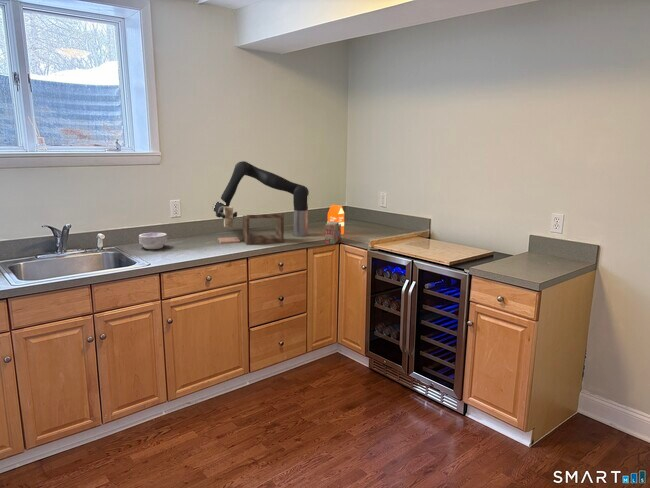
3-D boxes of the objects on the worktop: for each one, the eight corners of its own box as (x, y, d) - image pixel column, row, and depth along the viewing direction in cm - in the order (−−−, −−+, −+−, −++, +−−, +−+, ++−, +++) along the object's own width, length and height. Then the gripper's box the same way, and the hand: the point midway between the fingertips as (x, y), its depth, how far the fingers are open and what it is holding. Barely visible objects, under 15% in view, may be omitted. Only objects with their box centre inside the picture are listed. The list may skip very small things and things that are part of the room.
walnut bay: (278, 238, 314) (278, 211, 310) (283, 242, 303) (283, 214, 299) (243, 240, 305) (242, 212, 302) (247, 244, 295) (246, 215, 291)
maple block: (231, 225, 306) (231, 206, 303) (233, 226, 301) (233, 207, 298) (223, 225, 304) (223, 206, 301) (225, 227, 299) (224, 207, 297)
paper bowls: (157, 243, 291) (157, 230, 289) (172, 247, 282) (172, 234, 280) (134, 247, 279) (133, 234, 278) (148, 252, 270) (148, 238, 268)
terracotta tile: (236, 238, 312) (236, 237, 312) (240, 242, 301) (240, 240, 301) (217, 239, 308) (217, 237, 308) (220, 243, 297) (220, 241, 297)
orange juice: (337, 235, 329) (338, 206, 325) (326, 233, 334) (327, 205, 330) (343, 234, 335) (344, 205, 331) (333, 232, 340) (334, 204, 336)
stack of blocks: (331, 236, 325) (332, 218, 322) (340, 237, 324) (341, 219, 321) (324, 243, 305) (325, 224, 302) (334, 244, 303) (335, 224, 301)
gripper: (213, 206, 311) (217, 210, 295) (235, 206, 316) (240, 210, 300) (213, 218, 312) (217, 222, 297) (235, 217, 317) (240, 222, 302)
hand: (229, 216), depth 299 cm, fingers closed on maple block, 5 cm apart
